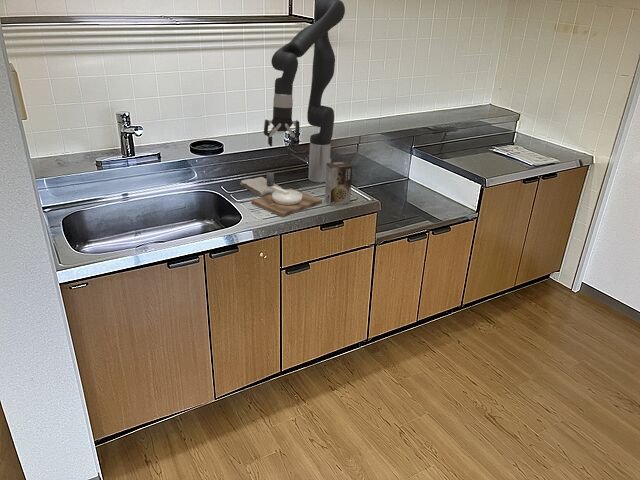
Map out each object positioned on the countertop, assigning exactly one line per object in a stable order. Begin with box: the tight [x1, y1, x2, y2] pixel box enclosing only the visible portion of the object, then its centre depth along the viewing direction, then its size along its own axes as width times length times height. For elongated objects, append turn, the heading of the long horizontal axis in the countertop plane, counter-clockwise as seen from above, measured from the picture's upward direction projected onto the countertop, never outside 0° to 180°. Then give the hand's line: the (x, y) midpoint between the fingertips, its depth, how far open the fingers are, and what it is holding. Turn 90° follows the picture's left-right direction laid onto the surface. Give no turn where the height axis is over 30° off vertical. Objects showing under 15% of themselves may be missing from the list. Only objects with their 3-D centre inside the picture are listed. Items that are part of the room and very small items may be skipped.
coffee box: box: [324, 161, 353, 206], centre depth 211 cm, size 9×6×16 cm
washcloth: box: [239, 176, 283, 197], centre depth 224 cm, size 12×18×3 cm, turn 39°
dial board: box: [250, 187, 323, 218], centre depth 209 cm, size 22×18×2 cm
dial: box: [266, 172, 302, 205], centre depth 209 cm, size 18×12×8 cm
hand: (281, 146), depth 212 cm, fingers open, 8 cm apart
